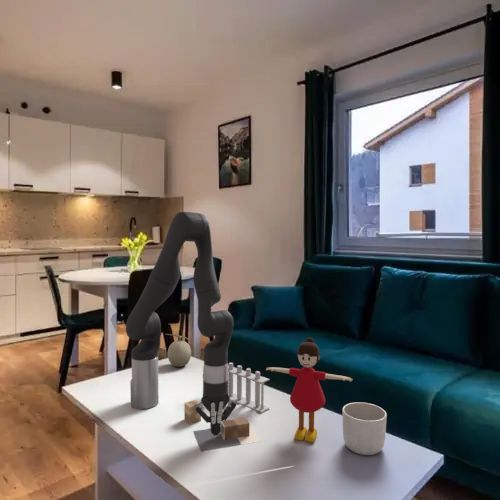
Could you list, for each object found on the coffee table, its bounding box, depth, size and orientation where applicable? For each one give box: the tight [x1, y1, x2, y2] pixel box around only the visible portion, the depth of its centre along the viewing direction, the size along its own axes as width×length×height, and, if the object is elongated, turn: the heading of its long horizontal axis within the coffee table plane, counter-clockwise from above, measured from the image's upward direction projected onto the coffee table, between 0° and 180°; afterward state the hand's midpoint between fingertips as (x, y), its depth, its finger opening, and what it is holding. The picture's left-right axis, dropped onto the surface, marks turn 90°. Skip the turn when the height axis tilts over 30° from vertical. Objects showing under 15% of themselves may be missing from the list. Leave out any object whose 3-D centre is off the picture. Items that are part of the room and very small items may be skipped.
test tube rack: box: [228, 362, 270, 414], centre depth 154 cm, size 25×4×13 cm, turn 48°
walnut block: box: [221, 417, 251, 440], centre depth 129 cm, size 4×4×8 cm
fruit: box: [165, 333, 192, 368], centre depth 191 cm, size 10×12×15 cm
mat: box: [193, 425, 261, 452], centre depth 128 cm, size 18×12×1 cm, turn 108°
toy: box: [265, 336, 353, 443], centre depth 129 cm, size 27×11×30 cm, turn 70°
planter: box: [342, 401, 388, 456], centre depth 122 cm, size 12×12×11 cm
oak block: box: [183, 399, 202, 425], centre depth 138 cm, size 4×4×6 cm
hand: (215, 434), depth 127 cm, fingers closed
